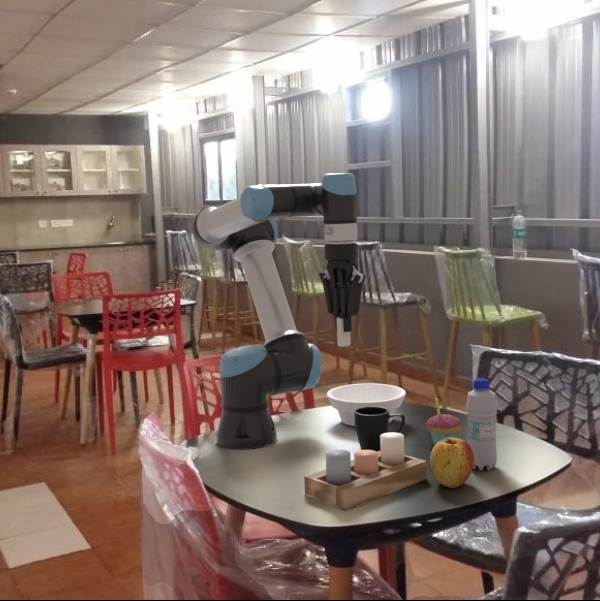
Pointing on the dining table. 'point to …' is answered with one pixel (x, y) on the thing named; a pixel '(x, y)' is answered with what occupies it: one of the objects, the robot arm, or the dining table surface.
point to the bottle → (482, 424)
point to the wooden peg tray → (365, 483)
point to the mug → (373, 426)
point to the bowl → (364, 399)
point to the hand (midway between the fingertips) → (344, 345)
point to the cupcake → (443, 425)
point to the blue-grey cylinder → (338, 467)
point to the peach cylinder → (366, 462)
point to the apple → (452, 462)
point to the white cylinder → (392, 448)
